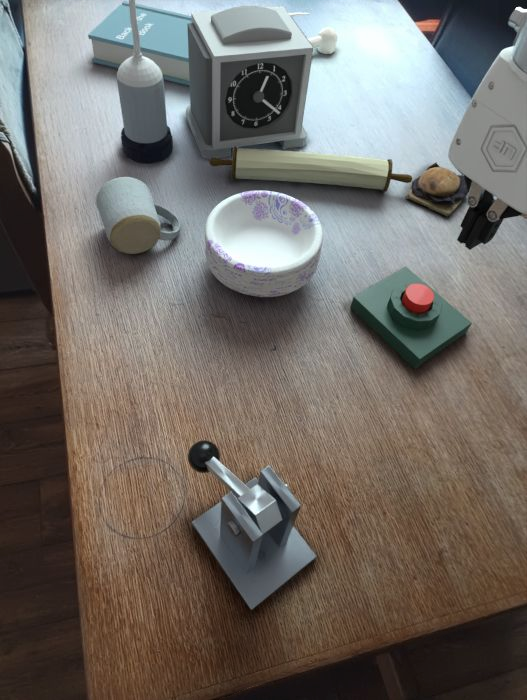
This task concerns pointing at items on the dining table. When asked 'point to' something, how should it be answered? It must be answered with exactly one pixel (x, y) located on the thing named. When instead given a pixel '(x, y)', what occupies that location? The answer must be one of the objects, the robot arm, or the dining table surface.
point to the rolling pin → (311, 168)
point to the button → (417, 298)
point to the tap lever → (236, 485)
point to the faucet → (323, 38)
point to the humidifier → (143, 105)
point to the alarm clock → (247, 78)
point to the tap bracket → (255, 542)
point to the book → (145, 40)
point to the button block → (409, 318)
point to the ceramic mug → (132, 216)
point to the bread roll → (438, 189)
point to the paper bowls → (263, 243)
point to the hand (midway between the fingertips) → (472, 239)
